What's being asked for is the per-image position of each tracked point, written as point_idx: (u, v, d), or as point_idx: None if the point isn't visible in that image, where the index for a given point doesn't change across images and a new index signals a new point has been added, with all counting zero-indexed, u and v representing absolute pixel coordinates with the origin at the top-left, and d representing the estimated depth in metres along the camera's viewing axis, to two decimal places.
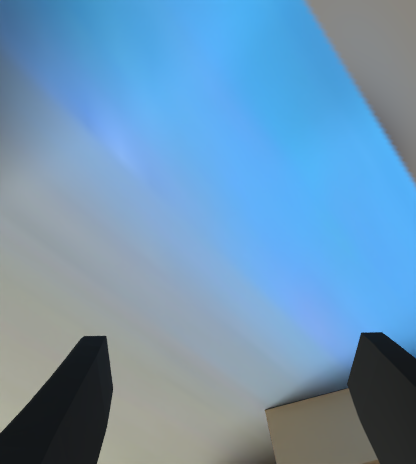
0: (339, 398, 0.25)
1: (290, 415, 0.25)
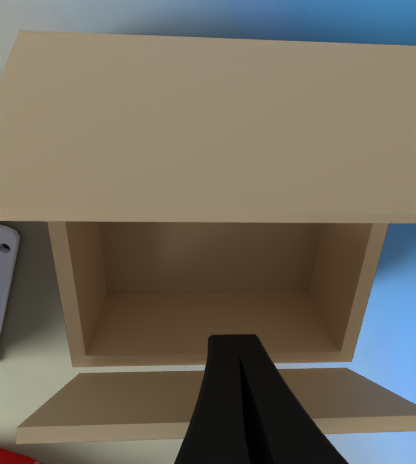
0: None
1: None
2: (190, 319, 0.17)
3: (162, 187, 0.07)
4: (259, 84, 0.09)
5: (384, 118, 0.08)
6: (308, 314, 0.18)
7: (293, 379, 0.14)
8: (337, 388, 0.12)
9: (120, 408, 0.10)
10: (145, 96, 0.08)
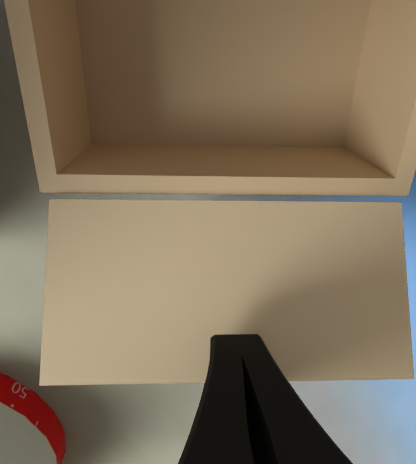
0: None
1: None
2: (195, 158, 0.13)
3: None
4: None
5: None
6: (345, 158, 0.14)
7: (318, 252, 0.11)
8: (357, 290, 0.11)
9: (124, 341, 0.11)
10: None
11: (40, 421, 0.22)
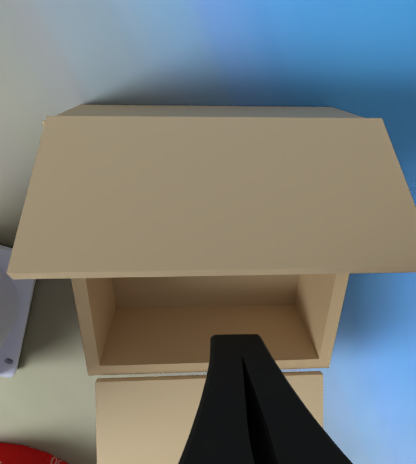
0: (195, 107, 0.16)
1: (114, 107, 0.16)
2: (189, 331, 0.19)
3: (161, 251, 0.09)
4: (236, 159, 0.11)
5: (333, 187, 0.11)
6: (293, 325, 0.20)
7: None
8: None
9: None
10: (147, 173, 0.11)
11: None
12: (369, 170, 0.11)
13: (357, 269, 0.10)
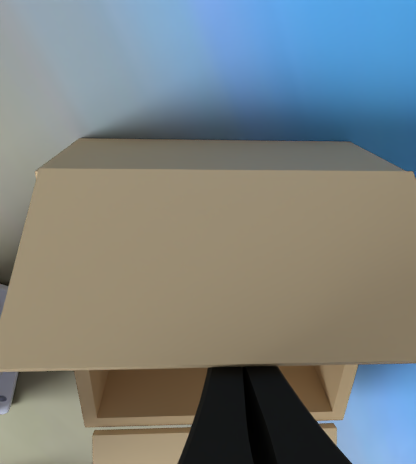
0: (202, 142, 0.15)
1: (115, 143, 0.15)
2: (193, 376, 0.18)
3: (166, 340, 0.08)
4: (251, 222, 0.10)
5: (361, 257, 0.09)
6: (303, 369, 0.19)
7: None
8: None
9: None
10: (150, 240, 0.09)
11: None
12: (401, 236, 0.10)
13: (391, 361, 0.08)
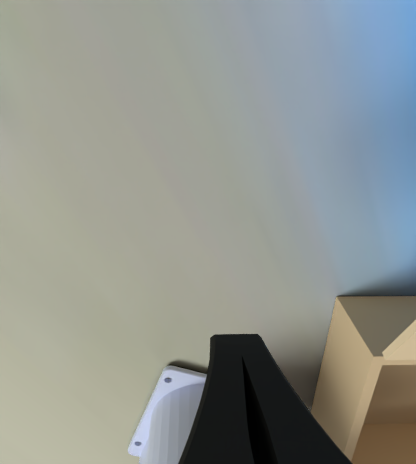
0: None
1: (369, 305, 0.22)
2: (390, 452, 0.25)
3: None
4: None
5: None
6: None
7: None
8: None
9: None
10: None
11: None
12: None
13: None
